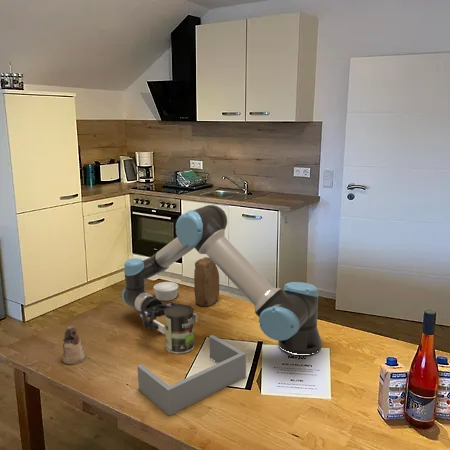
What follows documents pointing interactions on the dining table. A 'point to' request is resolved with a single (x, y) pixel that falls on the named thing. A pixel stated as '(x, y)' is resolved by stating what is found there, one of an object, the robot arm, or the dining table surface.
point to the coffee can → (179, 329)
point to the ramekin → (166, 291)
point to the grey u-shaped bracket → (195, 379)
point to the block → (206, 282)
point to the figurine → (72, 347)
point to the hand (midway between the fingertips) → (180, 324)
